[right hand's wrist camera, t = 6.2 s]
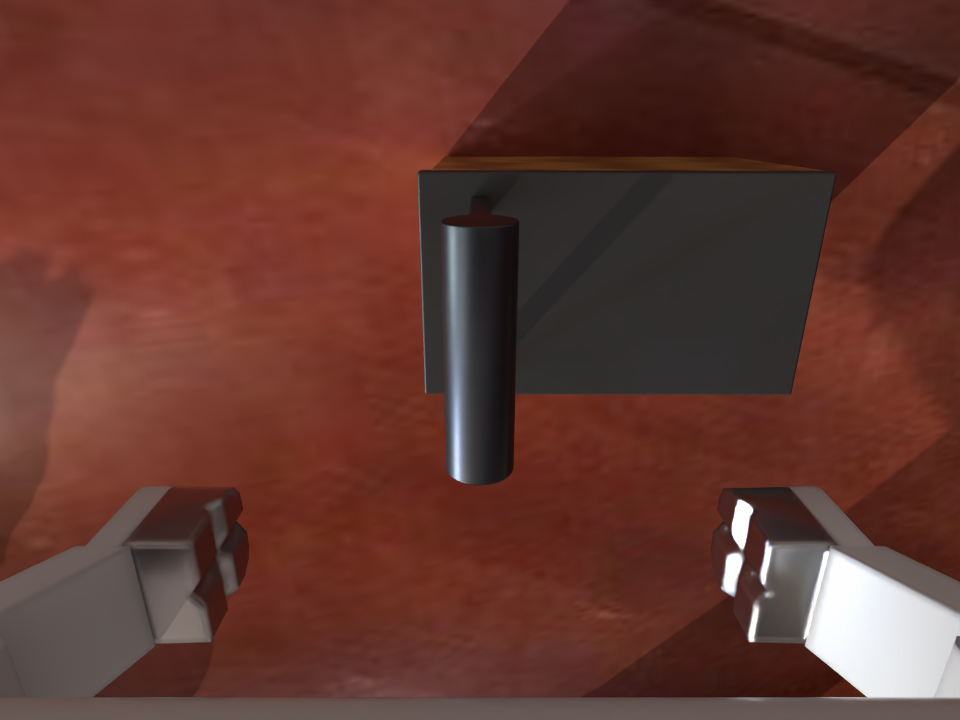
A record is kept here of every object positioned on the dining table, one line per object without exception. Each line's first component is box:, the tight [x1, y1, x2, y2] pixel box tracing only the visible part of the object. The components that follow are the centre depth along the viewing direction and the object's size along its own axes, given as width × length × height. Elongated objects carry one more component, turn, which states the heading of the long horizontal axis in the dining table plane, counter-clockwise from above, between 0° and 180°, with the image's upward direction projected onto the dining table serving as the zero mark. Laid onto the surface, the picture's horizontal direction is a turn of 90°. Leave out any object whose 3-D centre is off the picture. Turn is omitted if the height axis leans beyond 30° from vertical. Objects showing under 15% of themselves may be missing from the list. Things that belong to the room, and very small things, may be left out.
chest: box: [432, 156, 824, 171], centre depth 29 cm, size 15×9×9 cm, turn 90°
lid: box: [417, 170, 836, 485], centre depth 21 cm, size 16×9×9 cm, turn 90°
